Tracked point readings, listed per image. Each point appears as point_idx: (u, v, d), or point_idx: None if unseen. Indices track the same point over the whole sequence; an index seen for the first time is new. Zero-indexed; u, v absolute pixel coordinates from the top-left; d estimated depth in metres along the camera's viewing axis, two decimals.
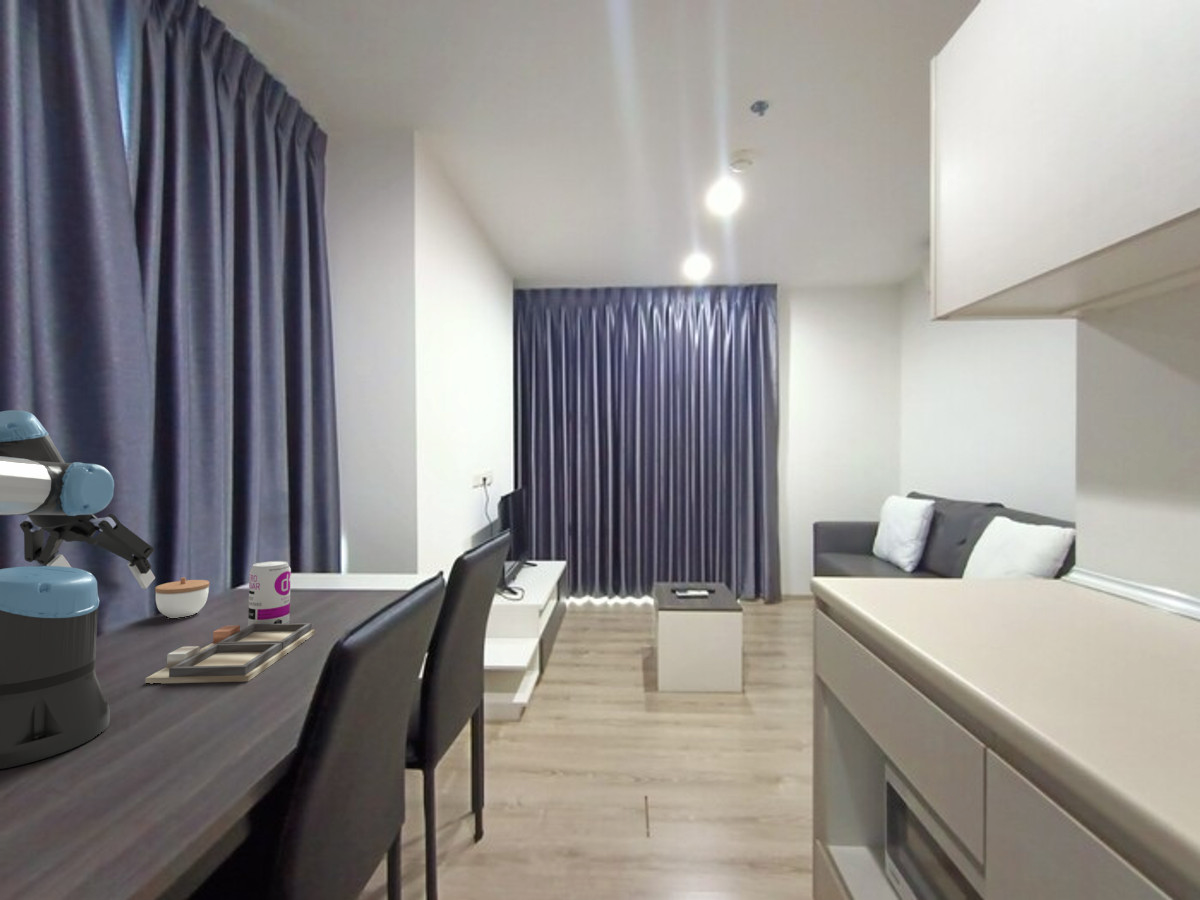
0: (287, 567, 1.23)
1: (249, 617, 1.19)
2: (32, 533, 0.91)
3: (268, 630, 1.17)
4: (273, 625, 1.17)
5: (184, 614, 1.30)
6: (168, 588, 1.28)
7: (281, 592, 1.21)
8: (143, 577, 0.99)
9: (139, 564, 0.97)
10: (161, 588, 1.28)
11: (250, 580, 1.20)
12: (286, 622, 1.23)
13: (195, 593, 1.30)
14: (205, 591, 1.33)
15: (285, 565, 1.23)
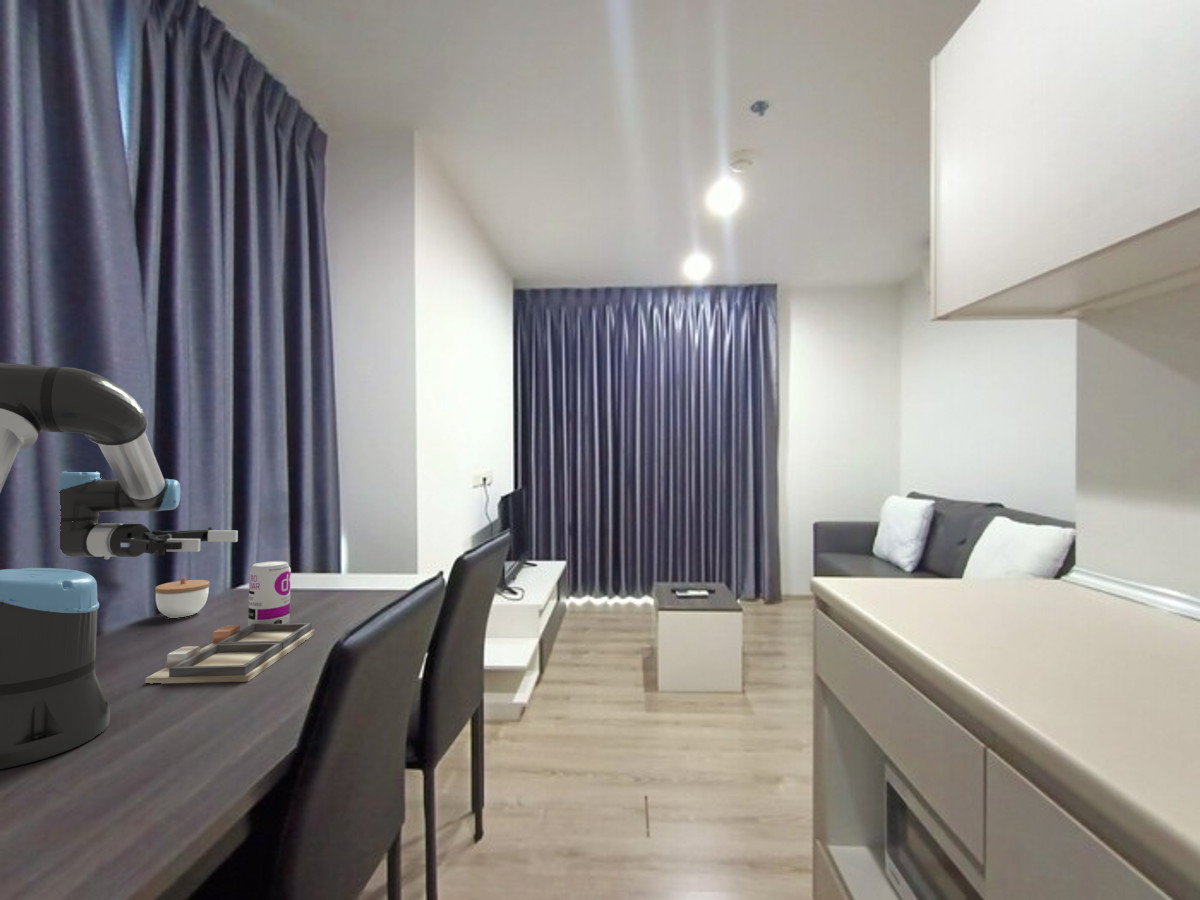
0: (287, 567, 1.23)
1: (249, 617, 1.19)
2: None
3: (268, 630, 1.17)
4: (273, 625, 1.17)
5: (184, 614, 1.30)
6: (168, 588, 1.28)
7: (281, 592, 1.21)
8: None
9: None
10: (161, 588, 1.28)
11: (250, 580, 1.20)
12: (286, 622, 1.23)
13: (195, 593, 1.30)
14: (205, 591, 1.33)
15: (285, 565, 1.23)
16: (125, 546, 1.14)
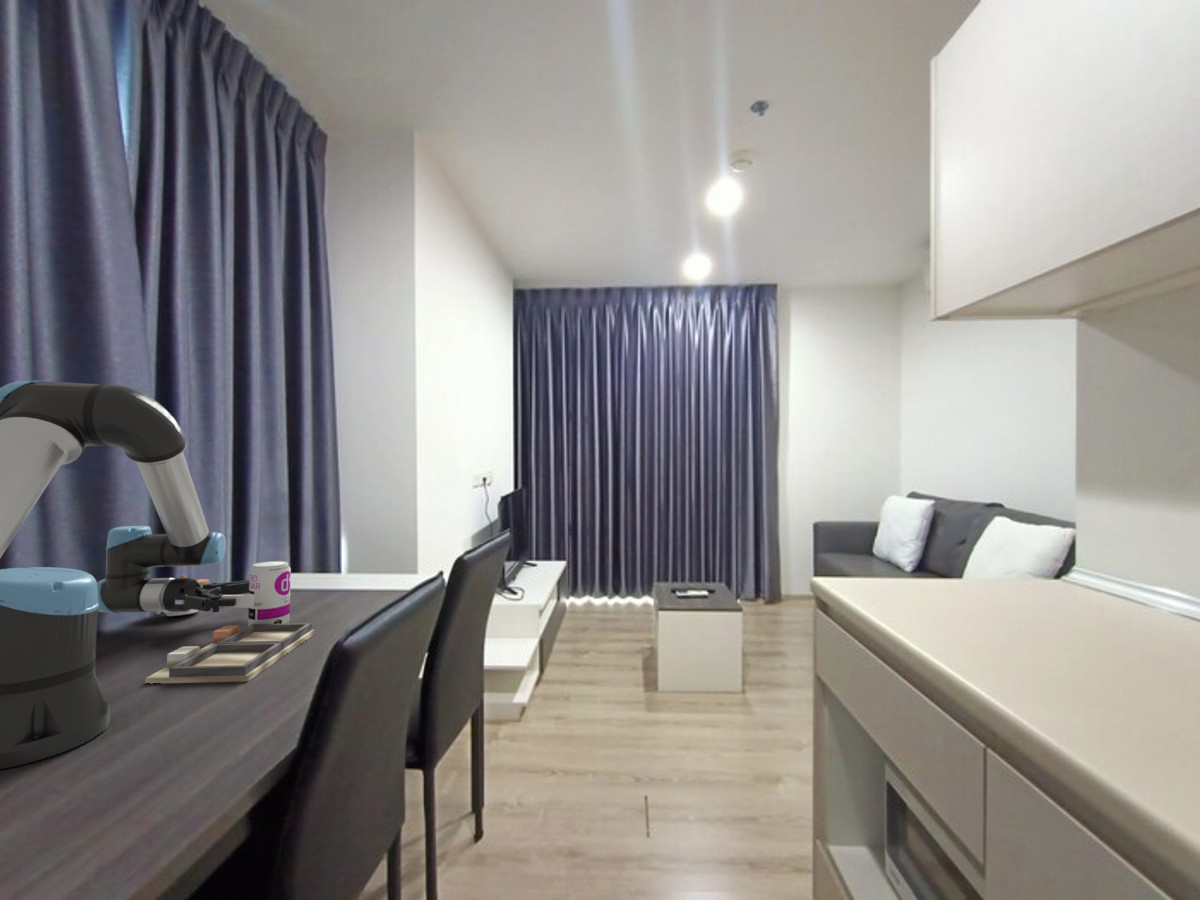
0: (287, 567, 1.23)
1: (249, 617, 1.19)
2: None
3: (268, 630, 1.17)
4: (273, 625, 1.17)
5: None
6: None
7: (281, 592, 1.21)
8: None
9: None
10: None
11: (250, 580, 1.20)
12: (286, 622, 1.23)
13: None
14: None
15: (285, 565, 1.23)
16: (180, 603, 1.15)
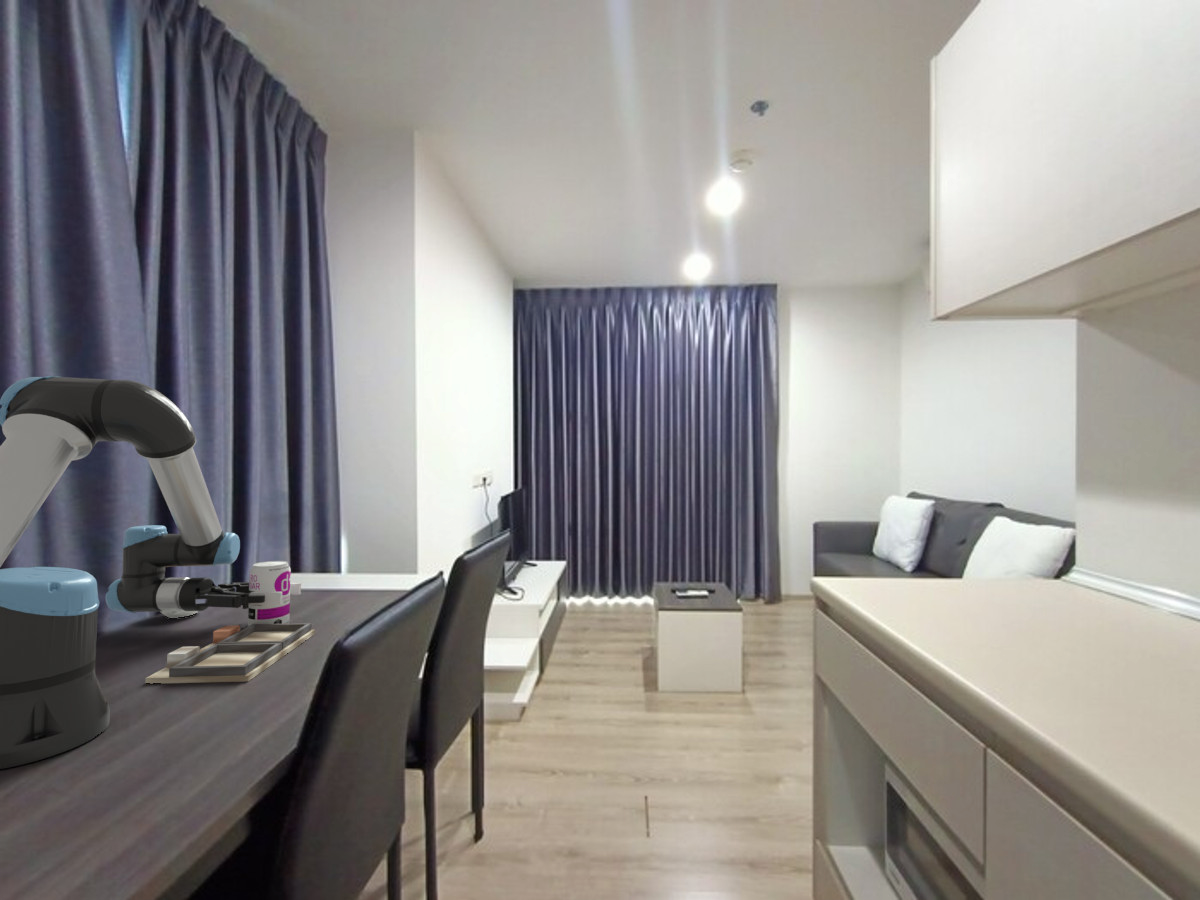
0: (287, 567, 1.23)
1: (249, 617, 1.19)
2: (209, 595, 1.17)
3: (268, 630, 1.17)
4: (273, 625, 1.17)
5: (182, 614, 1.29)
6: None
7: None
8: None
9: None
10: None
11: (250, 580, 1.20)
12: (286, 622, 1.23)
13: None
14: None
15: (285, 565, 1.23)
16: (202, 602, 1.15)
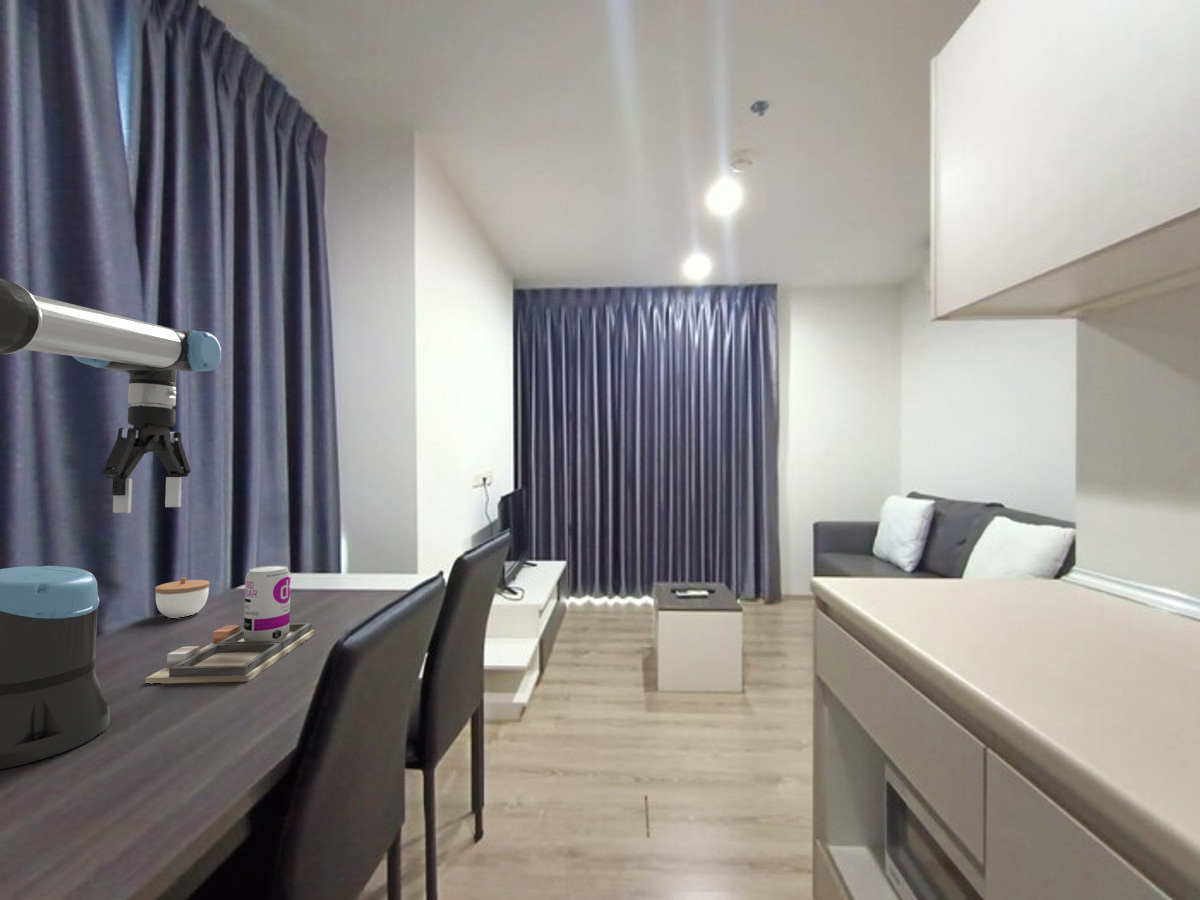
0: (287, 572, 1.12)
1: (245, 628, 1.08)
2: None
3: None
4: None
5: (181, 614, 1.29)
6: (166, 588, 1.28)
7: (281, 600, 1.10)
8: (117, 500, 1.01)
9: None
10: (159, 588, 1.28)
11: (246, 587, 1.09)
12: (286, 633, 1.12)
13: (192, 594, 1.30)
14: (203, 592, 1.32)
15: (285, 570, 1.12)
16: None
